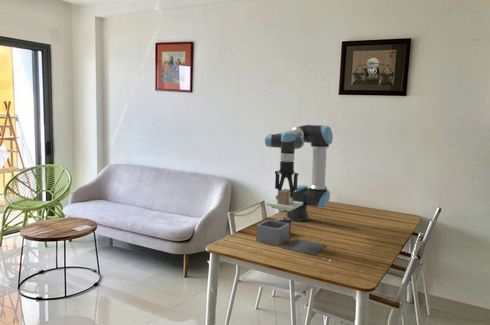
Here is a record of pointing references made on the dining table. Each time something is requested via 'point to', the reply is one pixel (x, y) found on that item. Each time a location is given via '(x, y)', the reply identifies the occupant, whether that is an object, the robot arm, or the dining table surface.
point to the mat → (304, 246)
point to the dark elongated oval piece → (285, 221)
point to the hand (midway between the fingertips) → (285, 202)
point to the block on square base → (284, 201)
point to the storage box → (272, 232)
